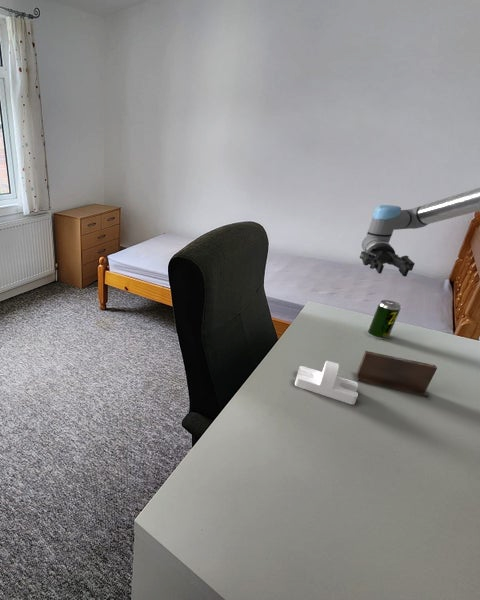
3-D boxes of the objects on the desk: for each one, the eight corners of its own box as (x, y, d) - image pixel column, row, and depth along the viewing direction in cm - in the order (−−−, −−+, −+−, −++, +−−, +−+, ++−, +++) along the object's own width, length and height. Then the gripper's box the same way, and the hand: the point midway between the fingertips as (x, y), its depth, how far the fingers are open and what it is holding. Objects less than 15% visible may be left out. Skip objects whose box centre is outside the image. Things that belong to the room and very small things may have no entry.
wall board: (422, 390, 88) (435, 365, 85) (426, 397, 85) (439, 372, 82) (355, 374, 94) (365, 350, 91) (357, 381, 92) (367, 356, 89)
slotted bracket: (354, 390, 89) (364, 366, 85) (354, 405, 84) (364, 380, 80) (297, 372, 96) (304, 349, 93) (294, 385, 91) (301, 361, 88)
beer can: (364, 334, 113) (376, 302, 108) (371, 330, 116) (384, 298, 111) (383, 341, 109) (397, 308, 104) (391, 337, 111) (404, 304, 106)
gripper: (408, 265, 126) (427, 286, 108) (346, 258, 135) (354, 277, 117) (416, 245, 123) (436, 264, 105) (352, 239, 132) (361, 256, 113)
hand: (393, 271), depth 111 cm, fingers open, 6 cm apart
